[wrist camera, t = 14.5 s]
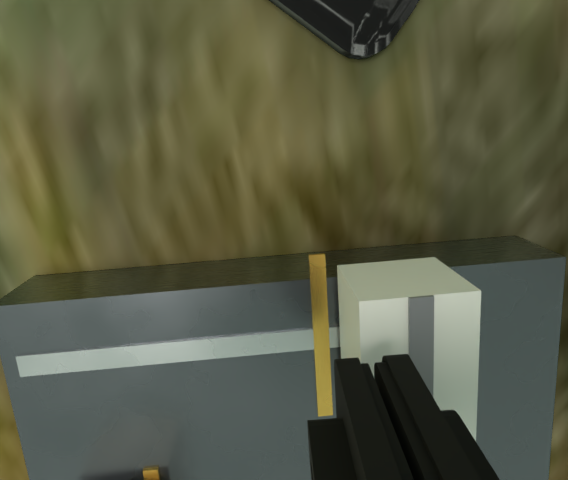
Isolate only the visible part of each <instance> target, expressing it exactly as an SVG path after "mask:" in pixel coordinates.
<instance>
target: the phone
mask: <svg viewBox="0 0 568 480" xmlns="http://www.w3.org/2000/svg"><path fill="white" fill-rule="evenodd" d="M269 1H271V2H272V3H273V4H275V5H276V6H277V7H279V8H280V9H281V10H283V11H284V12H285V13H287V14H288V15H289V16H291V17H292V18H293V19H295V20H296V21H297V22H299V23H300V24H301V25H303V26H304V27H305V28H307V29H308V30H309V31H311V32H312V33H313V34H315V35H316V36H317V37H319V38H320V39H321V40H323V41H324V42H325V43H327V44H328V45H329V46H331V47H332V48H333V49H335V50H336V51H337V52H339V53H340V54H342V55H344V56H346V57H348V58H354V59H363V58H368V57H371V56H372V55H374V54H376V53H378V52H379V51H381V50H383V49H385V48H386V47H387V45H388V44H389V43H390V42H391V41H392V40H393V39H394V37H395V36H396V34H397V33H398V31H399V30H400V28H401V27H402V25H403V24H404V22H405V21H406V20H407V19H408V17H409V16H410V14H411V13H412V11H413V10H414V8H415V7H416V4H417V3H418V1H419V0H269Z"/></svg>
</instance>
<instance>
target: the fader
mask: <svg viewBox="0 0 568 480" xmlns="http://www.w3.org/2000/svg"><path fill="white" fill-rule="evenodd" d="M337 277H338V300H339V324H340V347H341V359H343V358H357V357H358V358H359V360H360V363H361V364H362V363H368V364H369V366H370V369H371V371H372V374H373V376H374V364H375V363H376V362H382V357H383V356H384V355H398V354H408V355H409V356H410V358H411V360H412V362H413V363H414V365H415V367H416V369H417V370H418V372H419V374H420V375H421V377H422V379H423V381H424V382H425V384H426V386H427V388H428V389H429V391H430V393H431V395H432V396H433V398H434V400H435V401H436V403H437V405H438V407H439V408H440V410H455V411H456V412H457V413H458V414H459V416H460V417H461V419H462V420H463V422H464V424H465V425H466V427H467V428H468V430H469V432H470V433H471V435H472V436H473V438H474V439H475V441H476V427H477V399H478V370H479V342H480V314H481V290H480V289H478V288H477V287H476V286H474V285H473V284H471V283H470V282H469V281H467V280H466V279H464V278H463V277H462V276H460V275H459V274H457V273H456V272H455V271H453V270H452V269H451V268H449V267H448V266H446V265H445V264H444V263H442V262H441V261H439V260H438V259H437V258H435V257H429V258H417V259H406V260H394V261H382V262H371V263H359V264H347V265H337Z"/></svg>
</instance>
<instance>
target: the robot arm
mask: <svg viewBox="0 0 568 480" xmlns="http://www.w3.org/2000/svg"><path fill="white" fill-rule="evenodd" d="M334 376H335V398H336V418H331V419H317V420H307V427H308V443H309V458H310V471H311V480H500V479H499V478H498V476H497V474H496V473H495V471H494V470H493V468H492V466H491V465H490V463H489V462H488V460H487V458H486V457H485V455H484V454H483V452H482V451H481V449H480V447H479V446H478V444H477V443H476V441H475V439H474V438H473V436H472V435H471V433H470V432H469V430H468V428H467V427H466V425H465V424H464V422H463V420H462V419H461V417H460V416H459V414H458V413H457V412H456V411H455V410H440V408H439V407H438V405H437V403H436V401H435V400H434V398H433V396H432V395H431V393H430V391H429V389H428V388H427V386H426V384H425V382H424V381H423V379H422V377H421V375H420V374H419V372H418V370H417V369H416V367H415V365H414V363H413V362H412V360H411V358H410V356H409V355H408V354H398V355H384V356H383V357H382V362H376V363H375V364H374V376H373V374H372V371H371V369H370V366H369V364H368V363H362V364H361V363H360V360H359V358H358V357H357V358H343V359H334Z"/></svg>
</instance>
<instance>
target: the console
mask: <svg viewBox="0 0 568 480" xmlns="http://www.w3.org/2000/svg"><path fill="white" fill-rule="evenodd" d="M429 257H435V258H437V259H438V260H439V261H441V262H442V263H444V264H445V265H446V266H448V267H449V268H451V269H452V270H453V271H455V272H456V273H457V274H459V275H460V276H462V277H463V278H464V279H466V280H467V281H469V282H470V283H471V284H473V285H474V286H476V287H477V288H478V289H480V290H481V314H480V342H479V370H478V399H477V427H476V443H477V444H478V446H479V447H480V449H481V451H482V452H483V454H484V455H485V457H486V458H487V460H488V462H489V463H490V465H491V466H492V468H493V470H494V471H495V473H496V474H497V476H498V478H499V479H500V480H548V477H549V464H550V452H551V439H552V427H553V414H554V402H555V389H556V377H557V364H558V352H559V339H560V327H561V314H562V302H563V289H564V277H565V264H566V257H565V256H562V255H560V254H558V253H555V252H553V251H551V250H548V249H546V248H543V247H541V246H539V245H536V244H534V243H531V242H529V241H527V240H524V239H522V238H519V237H517V236H505V237H493V238H481V239H469V240H457V241H445V242H434V243H422V244H410V245H398V246H386V247H374V248H362V249H350V250H338V251H326V252H314V253H302V254H290V255H278V256H266V257H255V258H243V259H231V260H219V261H207V262H195V263H183V264H171V265H159V266H147V267H135V268H123V269H111V270H99V271H87V272H76V273H64V274H52V275H40V276H33V277H32V278H30V279H29V280H27V281H26V282H24V283H23V284H21V285H20V286H19V287H17V288H16V289H14V290H13V291H11V292H10V293H8V294H7V295H5V296H4V297H3V298H1V299H0V356H1V361H2V365H3V369H4V373H5V378H6V382H7V386H8V390H9V395H10V399H11V403H12V407H13V412H14V416H15V420H16V424H17V429H18V433H19V437H20V441H21V446H22V450H23V454H24V458H25V463H26V467H27V471H28V475H29V479H30V480H311V471H310V458H309V443H308V427H307V420H317V419H331V418H336V398H335V376H334V359H341V347H340V324H339V300H338V277H337V265H347V264H359V263H371V262H382V261H394V260H406V259H417V258H429Z"/></svg>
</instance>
